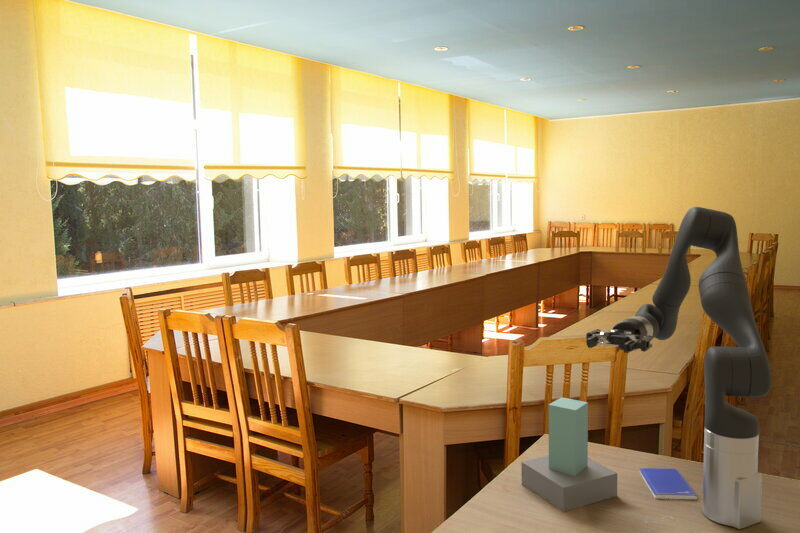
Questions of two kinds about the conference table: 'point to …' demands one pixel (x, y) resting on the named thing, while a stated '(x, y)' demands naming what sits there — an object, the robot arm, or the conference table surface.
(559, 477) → the podium
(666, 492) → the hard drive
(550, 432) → the carton
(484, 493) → the conference table surface
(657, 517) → the conference table surface
